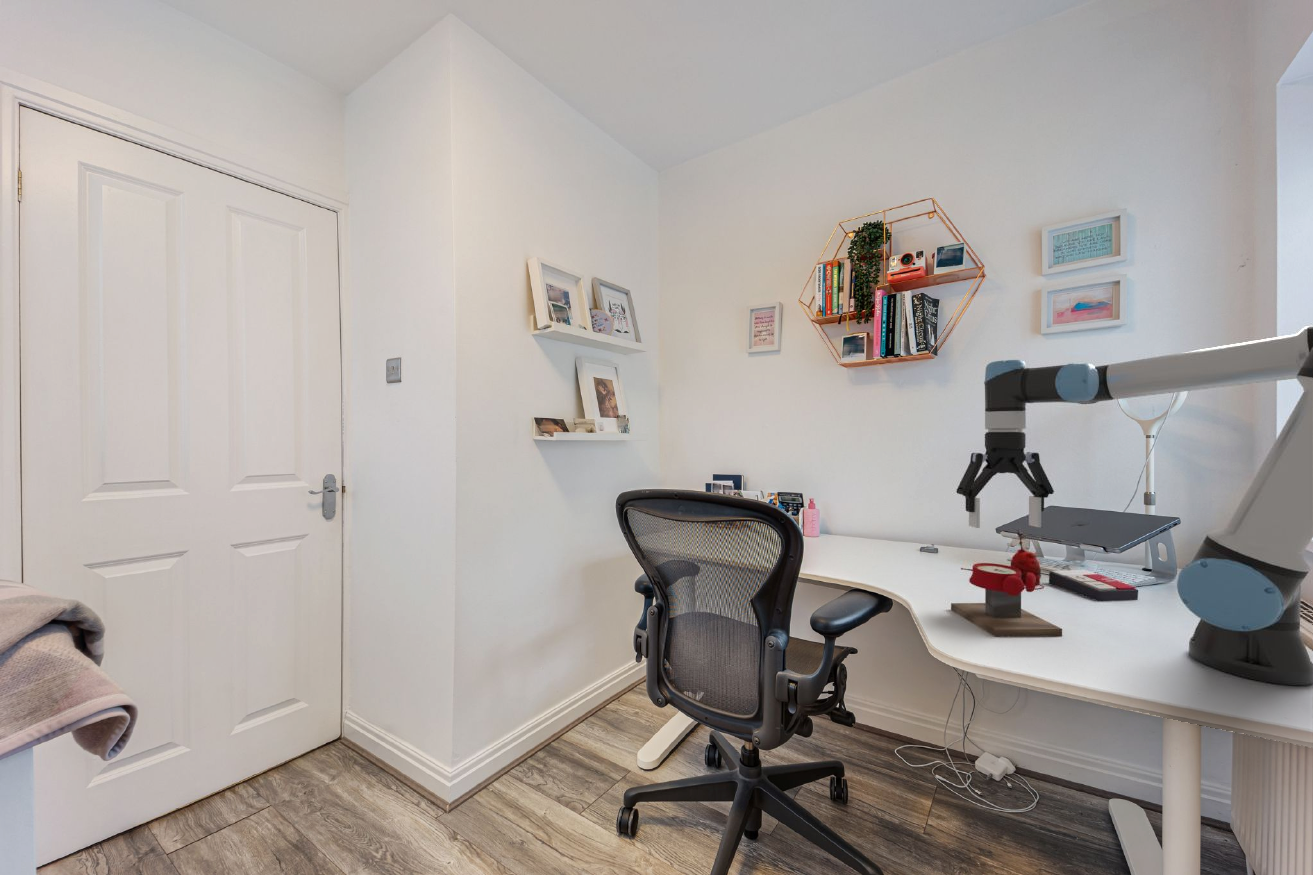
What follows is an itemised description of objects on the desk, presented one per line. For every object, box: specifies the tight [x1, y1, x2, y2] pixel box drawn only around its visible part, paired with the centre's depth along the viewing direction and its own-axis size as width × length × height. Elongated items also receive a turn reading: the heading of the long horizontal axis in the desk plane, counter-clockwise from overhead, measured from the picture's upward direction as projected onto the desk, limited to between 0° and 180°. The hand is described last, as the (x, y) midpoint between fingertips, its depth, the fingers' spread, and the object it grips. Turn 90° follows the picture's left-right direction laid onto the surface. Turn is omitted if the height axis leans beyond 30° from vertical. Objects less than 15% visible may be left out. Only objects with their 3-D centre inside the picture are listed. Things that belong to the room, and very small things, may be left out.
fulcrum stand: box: [950, 589, 1063, 638], centre depth 116 cm, size 16×14×8 cm
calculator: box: [1048, 569, 1139, 602], centre depth 137 cm, size 11×4×15 cm
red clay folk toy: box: [1010, 528, 1042, 585], centre depth 145 cm, size 8×7×15 cm
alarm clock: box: [960, 562, 1045, 595], centre depth 116 cm, size 10×6×15 cm
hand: (1004, 526), depth 116 cm, fingers open, 13 cm apart
